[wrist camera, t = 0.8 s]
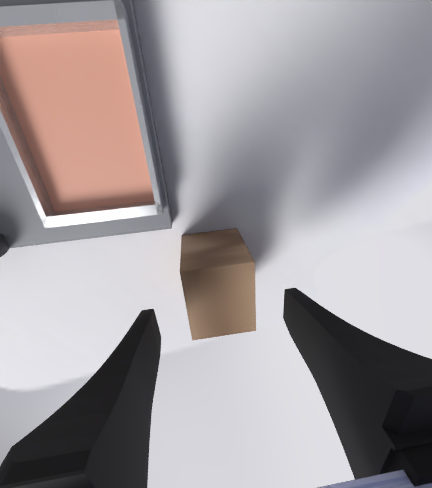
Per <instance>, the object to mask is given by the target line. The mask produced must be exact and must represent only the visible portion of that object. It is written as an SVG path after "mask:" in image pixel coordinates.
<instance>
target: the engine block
mask: <svg viewBox="0 0 432 488" xmlns="http://www.w3.org/2000/svg"><path fill="white" fill-rule="evenodd" d="M180 275H181V281H182V286H183V292H184V297H185V302H186V308H187V313H188V319H189V324H190V330H191V335H192V340H198V339H204V338H211V337H217V336H224V335H230V334H237V333H243V332H250V331H255V330H256V309H255V261H254V259H253V258H252V256H251V254H250V252H249V250H248V248H247V246H246V244H245V243H244V241H243V239H242V237H241V235H240V233H239V231H238V229H237V228H235V229H227V230H219V231H211V232H203V233H195V234H187V235H182V241H181V260H180Z"/></svg>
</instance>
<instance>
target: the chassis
mask: <svg viewBox="0 0 432 488" xmlns="http://www.w3.org/2000/svg"><path fill="white" fill-rule="evenodd" d="M170 228H172V218H171V213H170V207H169V201H168V196H167V190H166V185H165V179H164V174H163V168H162V162H161V157H160V151H159V146H158V140H157V135H156V129H155V124H154V118H153V112H152V107H151V101H150V96H149V90H148V85H147V79H146V73H145V68H144V62H143V57H142V51H141V46H140V40H139V34H138V29H137V23H136V18H135V12H134V7H133V1H132V0H0V257H1V256H3V255H4V254H5V253H6V252H7V251H8V249H9V248H15V247H23V246H31V245H40V244H48V243H56V242H64V241H72V240H80V239H89V238H97V237H105V236H113V235H121V234H130V233H138V232H146V231H154V230H162V229H170Z"/></svg>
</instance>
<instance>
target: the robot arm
mask: <svg viewBox="0 0 432 488" xmlns="http://www.w3.org/2000/svg"><path fill="white" fill-rule="evenodd" d="M283 318H284V321H285V323H286V326H287V328H288V331H289V333H290V335H291V337H292V339H293V341H294V343H295V344H296V346H297V348H298V350H299V352H300V353H301V355H302V357H303V359H304V360H305V362H306V364H307V366H308V368H309V370H310V371H311V373H312V375H313V377H314V379H315V381H316V383H317V385H318V388H319V390H320V392H321V395H322V397H323V399H324V401H325V404H326V406H327V409H328V411H329V413H330V416H331V418H332V420H333V423H334V425H335V428H336V430H337V433H338V435H339V438H340V440H341V443H342V446H343V448H344V450H345V453H346V456H347V459H348V461H349V464H350V467H351V470H352V472H353V475H354V478H355V480H351V481H346V482H342V483H337V484H332V485H328V486H323V487H318V488H432V359H430V358H426V357H423V356H421V355H418V354H415V353H413V352H410V351H407V350H405V349H402V348H399V347H397V346H395V345H392V344H390V343H387V342H385V341H383V340H381V339H379V338H376V337H374V336H372V335H370V334H368V333H366V332H364V331H362V330H360V329H358V328H356V327H355V326H353V325H351V324H349V323H347V322H345V321H344V320H342V319H341V318H339V317H337V316H336V315H334V314H333V313H331V312H329V311H328V310H326V309H325V308H323V307H322V306H320V305H319V304H318V303H316V302H315V301H313V300H312V299H311V298H309V297H308V296H306V295H305V294H304V293H302V292H301V291H299V290H298V289H296V288H291V289H285V294H284V314H283ZM160 348H161V335H160V331H159V327H158V324H157V320H156V316H155V312H154V309H148V310H142V311H141V312H140V314H139V315H138V317H137V319H136V320H135V322H134V323H133V325H132V326H131V328H130V329H129V331H128V332H127V334H126V335H125V336H124V338H123V339H122V341H121V342H120V343H119V345H118V346H117V347H116V349H115V350H114V351H113V353H112V354H111V355H110V356H109V358H108V359H107V360H106V361H105V363H104V364H103V365H102V366H101V367H100V369H99V370H98V371H97V372H96V373H95V374H94V375H93V376H92V377H91V379H90V380H89V381H88V382H87V383H86V384H85V385H84V386H83V387H82V388H81V389H80V390H79V391H78V392H77V393H76V394H75V395H74V396H72V397H71V398H70V399H69V400H68V401H67V402H66V403H65V404H64V405H63V406H62V407H61V408H60V409H58V410H57V411H56V412H55V413H54V414H52V415H51V416H50V417H49V418H48V419H47V420H45V421H44V422H43V423H42V424H41V425H39V426H38V427H37V428H35V429H34V430H33V431H32V432H30V433H29V434H28V435H27V436H25V437H24V438H23V439H21V440H20V441H19V442H18V443H16V444H15V445H14V446H12V447H11V449H10V451H9V452H8V454H7V456H6V457H5V459H4V460H3V462H2V464H1V466H0V488H147V479H148V477H147V476H148V457H149V455H148V454H149V440H150V439H149V438H150V425H151V410H152V403H153V396H154V390H155V384H156V378H157V372H158V365H159V360H160Z"/></svg>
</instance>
